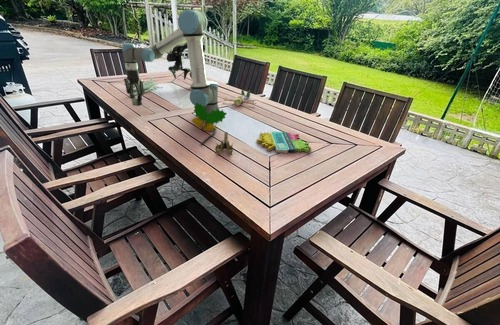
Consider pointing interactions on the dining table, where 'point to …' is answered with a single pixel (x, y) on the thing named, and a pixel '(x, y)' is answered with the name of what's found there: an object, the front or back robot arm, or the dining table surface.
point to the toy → (241, 99)
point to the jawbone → (224, 145)
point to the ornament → (207, 117)
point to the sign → (283, 142)
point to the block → (135, 101)
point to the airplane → (146, 86)
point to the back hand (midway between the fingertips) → (179, 79)
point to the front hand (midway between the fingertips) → (137, 104)
